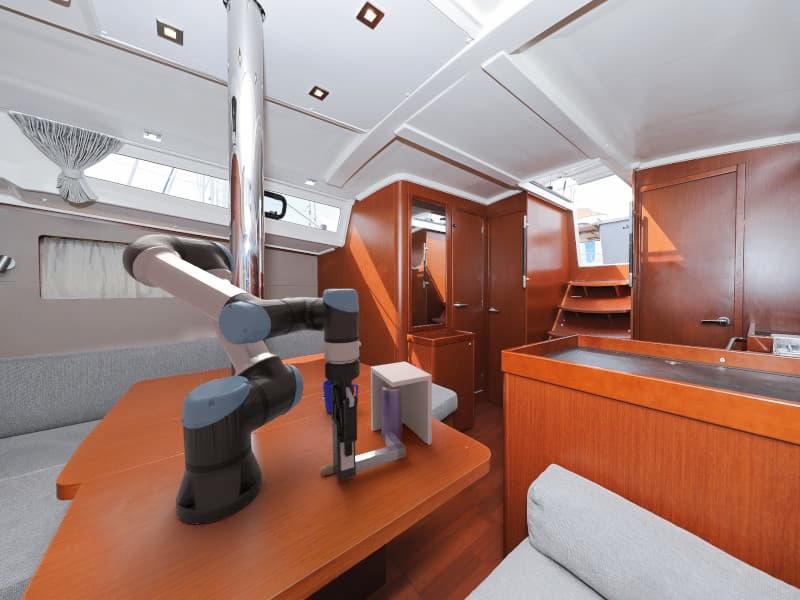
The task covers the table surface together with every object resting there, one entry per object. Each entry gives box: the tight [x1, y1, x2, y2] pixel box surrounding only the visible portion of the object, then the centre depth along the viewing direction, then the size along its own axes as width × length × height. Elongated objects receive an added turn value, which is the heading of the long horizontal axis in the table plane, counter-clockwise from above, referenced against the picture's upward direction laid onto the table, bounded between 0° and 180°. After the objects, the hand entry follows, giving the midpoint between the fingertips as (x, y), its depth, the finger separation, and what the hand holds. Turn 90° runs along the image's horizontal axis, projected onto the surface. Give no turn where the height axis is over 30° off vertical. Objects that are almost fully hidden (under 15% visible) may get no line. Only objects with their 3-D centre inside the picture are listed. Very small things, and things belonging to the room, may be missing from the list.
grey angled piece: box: [331, 418, 406, 482], centre depth 68 cm, size 17×8×12 cm, turn 117°
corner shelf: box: [370, 361, 433, 446], centre depth 81 cm, size 12×15×19 cm
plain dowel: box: [320, 463, 335, 477], centre depth 68 cm, size 12×2×2 cm
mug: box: [322, 379, 359, 414], centre depth 98 cm, size 8×12×10 cm
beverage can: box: [380, 383, 403, 441], centre depth 80 cm, size 6×6×15 cm
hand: (344, 461), depth 64 cm, fingers closed on grey angled piece, 4 cm apart
